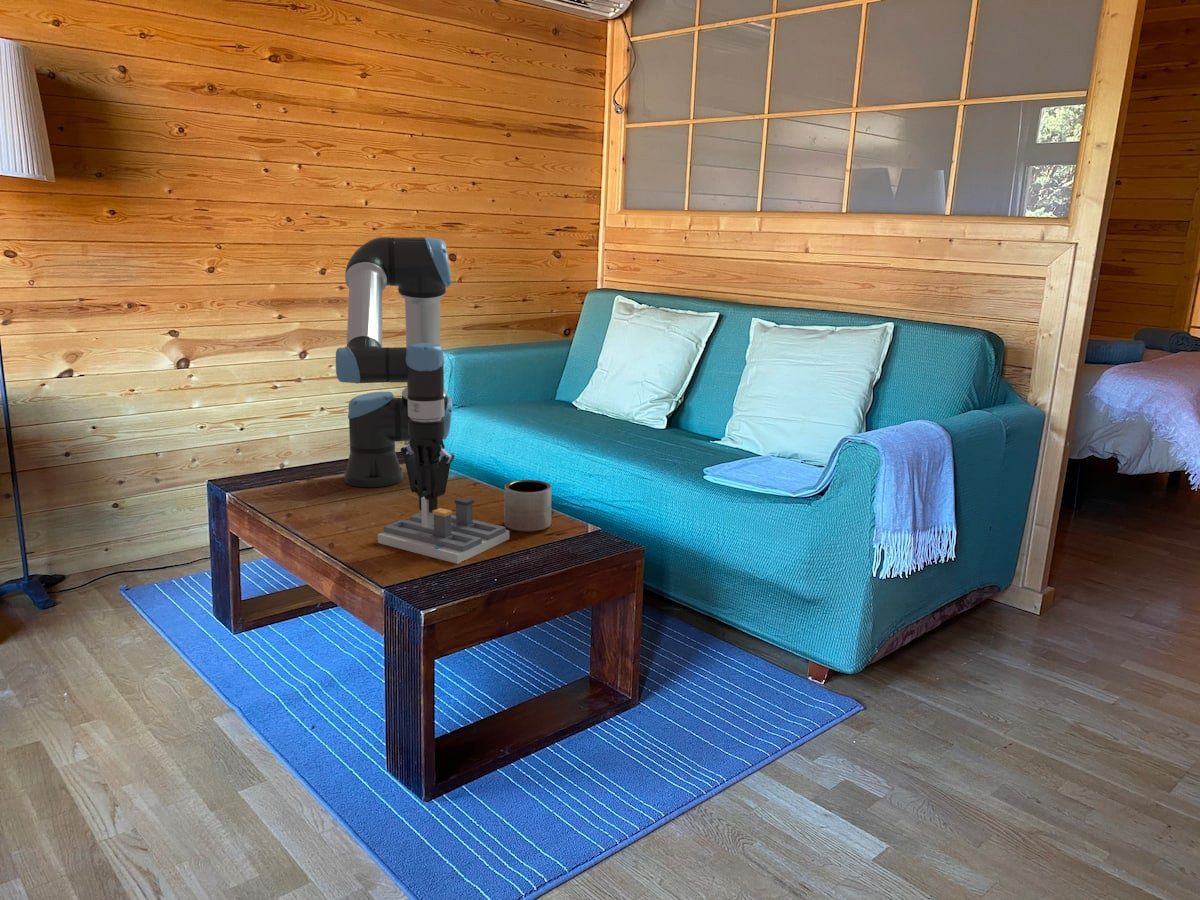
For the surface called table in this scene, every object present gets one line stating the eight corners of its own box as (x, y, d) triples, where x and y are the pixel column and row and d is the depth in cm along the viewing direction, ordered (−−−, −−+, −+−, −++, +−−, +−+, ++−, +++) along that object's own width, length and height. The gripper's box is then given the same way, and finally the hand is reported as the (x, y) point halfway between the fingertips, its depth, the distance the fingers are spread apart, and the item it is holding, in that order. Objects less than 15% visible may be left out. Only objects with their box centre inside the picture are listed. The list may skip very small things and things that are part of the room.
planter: (521, 515, 217) (521, 476, 215) (559, 523, 212) (560, 483, 210) (495, 527, 208) (494, 487, 205) (535, 536, 203) (535, 495, 200)
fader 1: (439, 535, 195) (438, 507, 193) (453, 539, 193) (453, 510, 192) (431, 538, 193) (431, 510, 191) (446, 542, 191) (445, 513, 189)
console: (432, 520, 211) (432, 507, 210) (509, 539, 201) (509, 525, 200) (377, 542, 196) (377, 528, 195) (457, 563, 185) (457, 549, 185)
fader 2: (460, 524, 203) (460, 497, 201) (474, 527, 201) (474, 500, 199) (453, 526, 201) (453, 499, 199) (468, 530, 199) (467, 502, 197)
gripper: (390, 417, 188) (393, 524, 194) (438, 425, 182) (440, 536, 188) (414, 411, 195) (417, 515, 200) (462, 419, 188) (463, 526, 194)
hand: (428, 525), depth 194 cm, fingers closed
